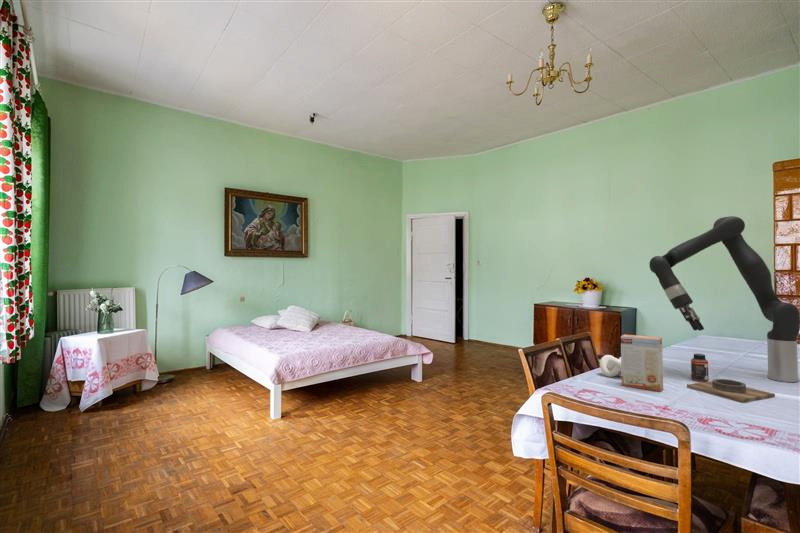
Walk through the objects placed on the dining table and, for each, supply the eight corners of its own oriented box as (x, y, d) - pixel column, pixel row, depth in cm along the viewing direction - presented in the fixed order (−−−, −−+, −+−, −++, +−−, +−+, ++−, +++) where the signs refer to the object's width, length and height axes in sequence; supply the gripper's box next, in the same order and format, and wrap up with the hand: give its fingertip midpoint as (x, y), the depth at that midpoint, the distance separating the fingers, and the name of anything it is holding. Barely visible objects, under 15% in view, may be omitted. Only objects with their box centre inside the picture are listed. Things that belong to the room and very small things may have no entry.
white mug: (638, 379, 175) (637, 358, 175) (613, 380, 173) (612, 360, 174) (620, 372, 186) (619, 353, 187) (596, 374, 185) (596, 354, 185)
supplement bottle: (711, 382, 168) (711, 355, 168) (695, 382, 169) (695, 355, 170) (703, 378, 174) (703, 352, 174) (688, 378, 175) (688, 352, 175)
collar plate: (717, 382, 168) (717, 373, 168) (774, 396, 149) (774, 387, 149) (686, 387, 162) (686, 378, 162) (742, 402, 143) (742, 392, 143)
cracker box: (663, 388, 161) (662, 337, 161) (660, 392, 157) (659, 339, 157) (625, 382, 171) (624, 333, 171) (621, 385, 166) (620, 335, 166)
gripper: (683, 291, 172) (705, 326, 165) (691, 293, 182) (712, 326, 175) (665, 299, 177) (686, 333, 170) (673, 300, 186) (694, 333, 179)
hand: (699, 329), depth 172 cm, fingers open, 8 cm apart
